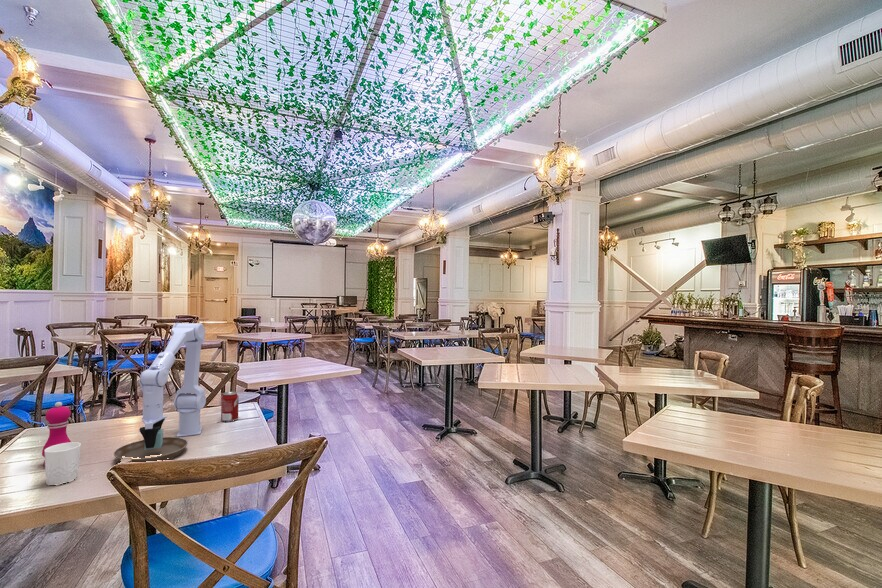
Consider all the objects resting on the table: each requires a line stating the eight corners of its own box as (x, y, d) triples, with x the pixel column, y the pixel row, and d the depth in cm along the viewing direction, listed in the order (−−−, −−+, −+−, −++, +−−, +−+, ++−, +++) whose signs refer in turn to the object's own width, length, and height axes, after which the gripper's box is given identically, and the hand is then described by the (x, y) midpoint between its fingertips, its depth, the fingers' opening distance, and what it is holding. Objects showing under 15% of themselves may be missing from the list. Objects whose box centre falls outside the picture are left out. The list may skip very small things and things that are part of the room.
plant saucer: (192, 442, 153) (192, 433, 153) (181, 463, 134) (181, 453, 134) (125, 449, 145) (125, 440, 145) (103, 473, 126) (103, 462, 126)
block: (147, 445, 141) (147, 430, 141) (162, 443, 143) (163, 429, 143) (144, 449, 137) (144, 435, 137) (160, 447, 139) (160, 433, 139)
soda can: (230, 423, 176) (231, 395, 176) (217, 421, 177) (217, 394, 177) (241, 418, 182) (242, 391, 182) (228, 417, 184) (228, 390, 184)
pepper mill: (70, 457, 137) (71, 397, 137) (74, 463, 132) (75, 401, 132) (40, 464, 131) (41, 402, 131) (43, 470, 127) (44, 406, 127)
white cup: (87, 475, 124) (87, 442, 124) (64, 487, 116) (64, 452, 116) (60, 474, 124) (61, 442, 124) (35, 487, 116) (36, 451, 116)
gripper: (163, 408, 135) (162, 449, 135) (170, 398, 148) (169, 435, 148) (137, 410, 132) (136, 452, 132) (146, 400, 145) (145, 438, 145)
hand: (152, 443), depth 140 cm, fingers open, 7 cm apart
